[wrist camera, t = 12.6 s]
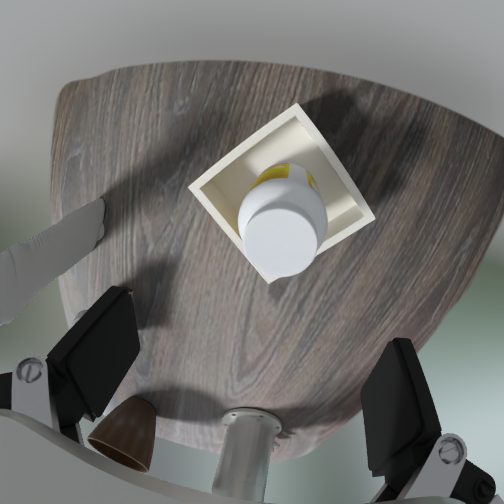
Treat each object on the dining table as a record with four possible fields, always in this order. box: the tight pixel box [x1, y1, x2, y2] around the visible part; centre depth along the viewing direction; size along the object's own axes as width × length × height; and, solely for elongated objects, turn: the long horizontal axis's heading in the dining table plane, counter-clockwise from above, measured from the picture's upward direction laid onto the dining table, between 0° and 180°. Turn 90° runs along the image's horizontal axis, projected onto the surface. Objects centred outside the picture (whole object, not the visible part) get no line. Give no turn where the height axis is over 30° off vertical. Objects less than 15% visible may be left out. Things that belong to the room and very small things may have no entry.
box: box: [188, 103, 375, 284], centre depth 27 cm, size 13×13×5 cm
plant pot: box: [87, 397, 156, 473], centre depth 48 cm, size 15×15×16 cm
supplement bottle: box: [238, 163, 328, 277], centre depth 23 cm, size 7×7×13 cm
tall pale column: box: [0, 198, 106, 326], centre depth 25 cm, size 11×4×22 cm, turn 148°
